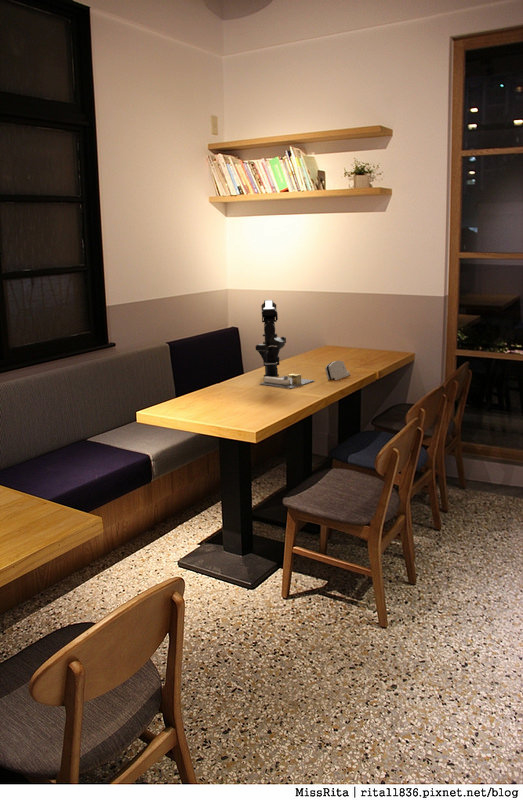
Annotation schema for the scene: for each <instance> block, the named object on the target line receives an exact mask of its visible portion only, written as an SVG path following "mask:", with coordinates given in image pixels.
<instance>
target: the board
mask: <svg viewBox="0 0 523 800" xmlns="http://www.w3.org/2000/svg"><path fill="white" fill-rule="evenodd" d="M284 376H285V375H283V376H281V377H279V378H284ZM288 379H290V384H289V385H282V384H277V383H270V382H264V381H263V382H260V383H259V385H260V386H267V387H276V388H281V389H288V388H289V389H288V390H293V389H296V388H298V386H299V387H301V386H304V385H307V384H310V383H313V382H314V383H315V380H314V379H306V378H301V383H300V384H292V378H288ZM295 387H296V388H295Z"/></svg>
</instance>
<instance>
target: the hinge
mask: <svg viewBox="0 0 523 800" xmlns="http://www.w3.org/2000/svg"><path fill="white" fill-rule="evenodd" d="M324 370H325V374H326V377H327V380H332V379H334V380H335V381H338V380H341V379H342V378H346V377H349V376H351V374H350V373H351V372H350V371H348V370H347V366H346V364H345V362H344V361H343V360H335V361H331V362H330V363H328V364H327V365H326V366H325V368H324Z"/></svg>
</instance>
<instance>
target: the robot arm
mask: <svg viewBox="0 0 523 800" xmlns="http://www.w3.org/2000/svg"><path fill="white" fill-rule="evenodd" d="M260 306H261V307H260V308H261V309H260V310H261V323H264V324H263V332H264V333H263V334H262V337H264V341H263V342H262V343H259V344H256V345H255V351H257V352H258V353H259V355H260V357H261V358H262V362H263V367H264V372H265V373H264V374H263V377H267V376H269V377H278V376H279V375H280V374H278V371H279V370H278V369H279V368H278V366H279V365H280V356H279V354H280V351H281V349H283V348H284V347H285V346H286V345H285V344H286V343H287V338H286V336H281V337H280V336H279V337H278V334H277V333H276V324H275V323H277V321H278V319H279V318H278V317H279V316H278V310H277V304H276V303H275V302H274V300H272V299H265V300H264V301H263V303H262V304H261V305H260Z"/></svg>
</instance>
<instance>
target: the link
mask: <svg viewBox="0 0 523 800" xmlns="http://www.w3.org/2000/svg"><path fill="white" fill-rule="evenodd" d="M283 376H284V378H280V377H277V376H274V377H269V376H263V382H270V383H277V384H282V385H289V384H290V379H288V375H283Z"/></svg>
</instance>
